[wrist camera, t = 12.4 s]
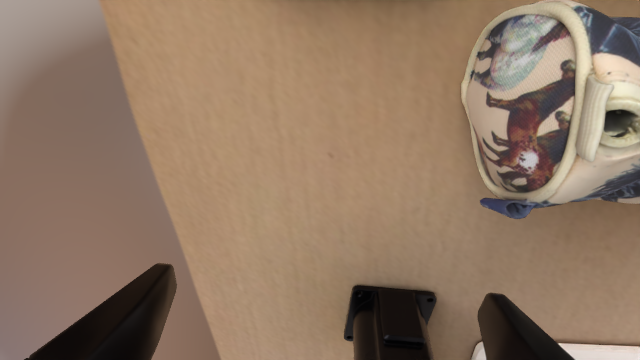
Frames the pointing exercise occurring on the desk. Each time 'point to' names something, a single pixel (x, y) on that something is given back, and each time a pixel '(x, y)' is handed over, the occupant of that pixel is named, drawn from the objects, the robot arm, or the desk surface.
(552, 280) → the desk surface
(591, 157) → the pencil case
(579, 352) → the smartphone
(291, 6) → the desk surface
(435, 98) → the desk surface
